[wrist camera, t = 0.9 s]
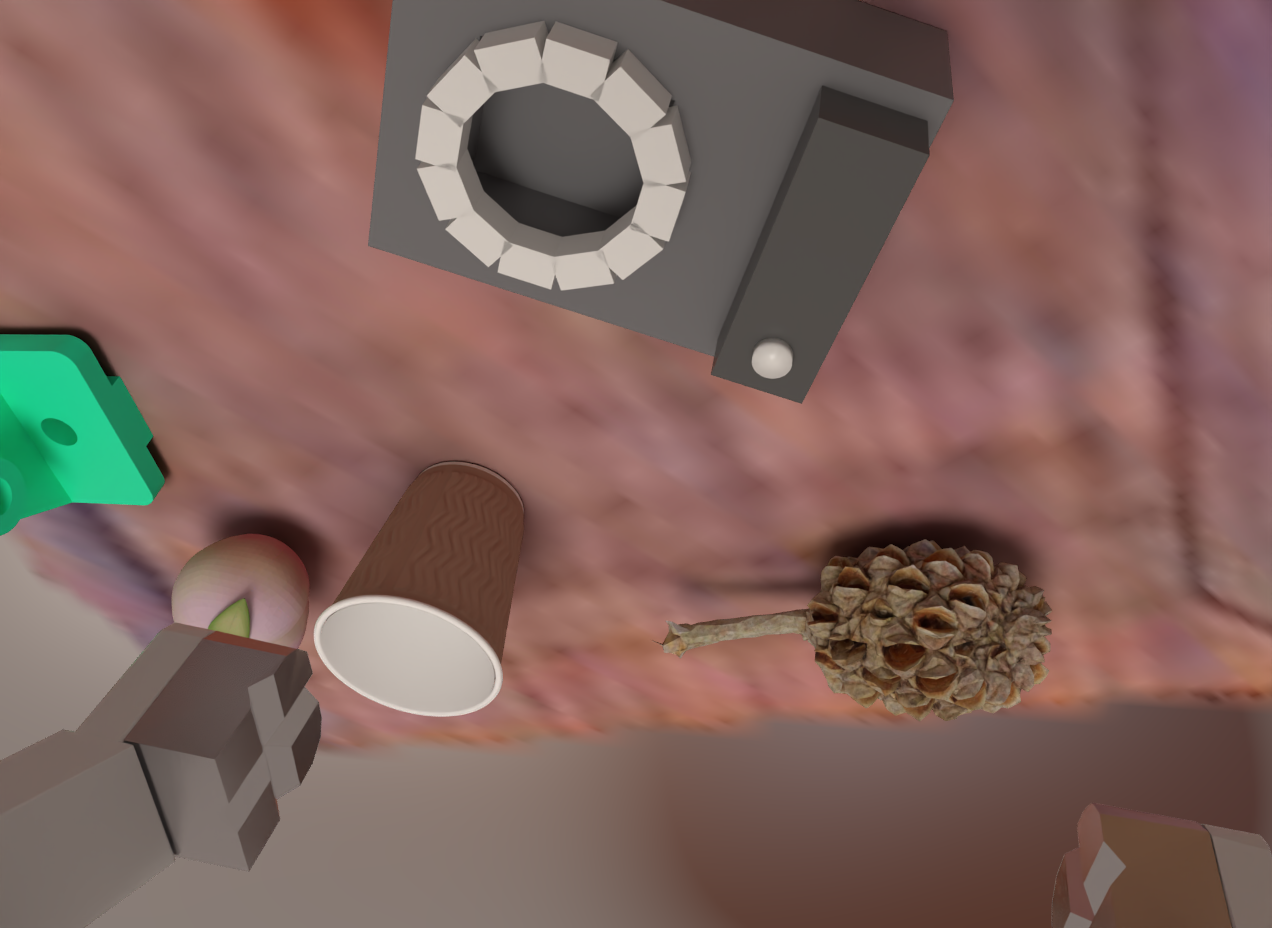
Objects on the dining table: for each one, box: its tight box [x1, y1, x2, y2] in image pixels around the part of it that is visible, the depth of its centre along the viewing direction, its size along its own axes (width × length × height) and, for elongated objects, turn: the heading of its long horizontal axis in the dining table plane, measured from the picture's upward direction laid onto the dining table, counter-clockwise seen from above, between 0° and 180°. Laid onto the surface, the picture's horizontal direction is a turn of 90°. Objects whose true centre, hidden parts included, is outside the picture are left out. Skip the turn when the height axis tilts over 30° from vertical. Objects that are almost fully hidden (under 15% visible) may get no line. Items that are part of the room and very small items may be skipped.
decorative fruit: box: [172, 534, 310, 649], centre depth 69 cm, size 9×8×10 cm
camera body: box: [368, 0, 954, 404], centre depth 43 cm, size 14×20×9 cm
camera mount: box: [0, 334, 165, 536], centre depth 62 cm, size 12×8×10 cm, turn 7°
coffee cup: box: [314, 462, 524, 717], centre depth 62 cm, size 10×10×12 cm
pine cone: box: [652, 539, 1052, 721], centre depth 61 cm, size 22×10×10 cm, turn 111°
